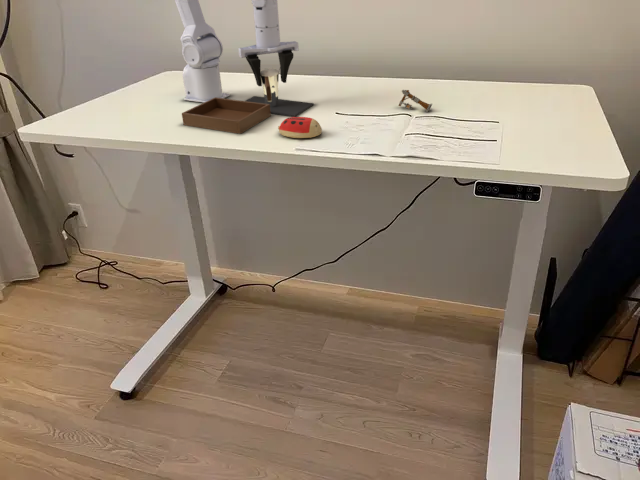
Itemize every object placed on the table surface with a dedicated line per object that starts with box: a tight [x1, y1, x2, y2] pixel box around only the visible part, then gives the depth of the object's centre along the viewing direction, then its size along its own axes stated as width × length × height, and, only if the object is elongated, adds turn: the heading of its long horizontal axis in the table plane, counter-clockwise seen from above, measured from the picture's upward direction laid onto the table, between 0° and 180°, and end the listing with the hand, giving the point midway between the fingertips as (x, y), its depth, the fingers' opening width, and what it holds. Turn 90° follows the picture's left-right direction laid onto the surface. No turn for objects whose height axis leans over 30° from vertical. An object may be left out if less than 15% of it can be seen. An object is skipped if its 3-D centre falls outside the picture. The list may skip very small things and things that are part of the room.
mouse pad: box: [245, 95, 315, 117], centre depth 142 cm, size 18×10×1 cm, turn 63°
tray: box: [181, 97, 272, 135], centre depth 134 cm, size 16×13×3 cm
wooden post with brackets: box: [398, 89, 433, 113], centre depth 136 cm, size 2×8×4 cm, turn 62°
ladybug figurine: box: [277, 116, 323, 139], centre depth 124 cm, size 7×10×4 cm
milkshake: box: [260, 65, 281, 107], centre depth 140 cm, size 4×5×10 cm
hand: (271, 83), depth 139 cm, fingers open, 6 cm apart
